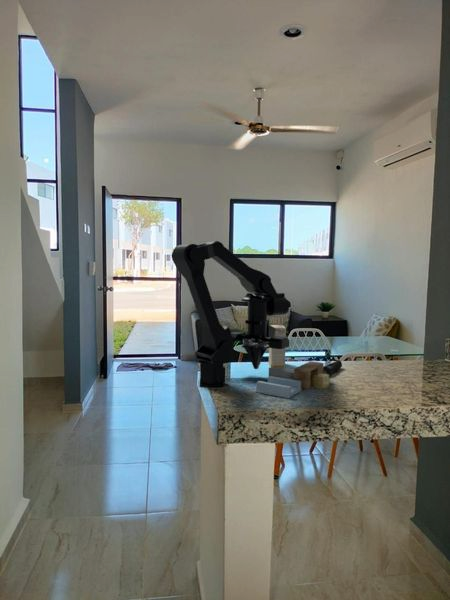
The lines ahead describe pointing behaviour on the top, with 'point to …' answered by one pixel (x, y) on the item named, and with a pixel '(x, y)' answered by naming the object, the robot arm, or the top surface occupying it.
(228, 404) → the top surface
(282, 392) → the cradle
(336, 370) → the electric trimmer
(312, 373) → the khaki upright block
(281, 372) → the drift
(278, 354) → the supplement box
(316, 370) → the beam
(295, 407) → the top surface
